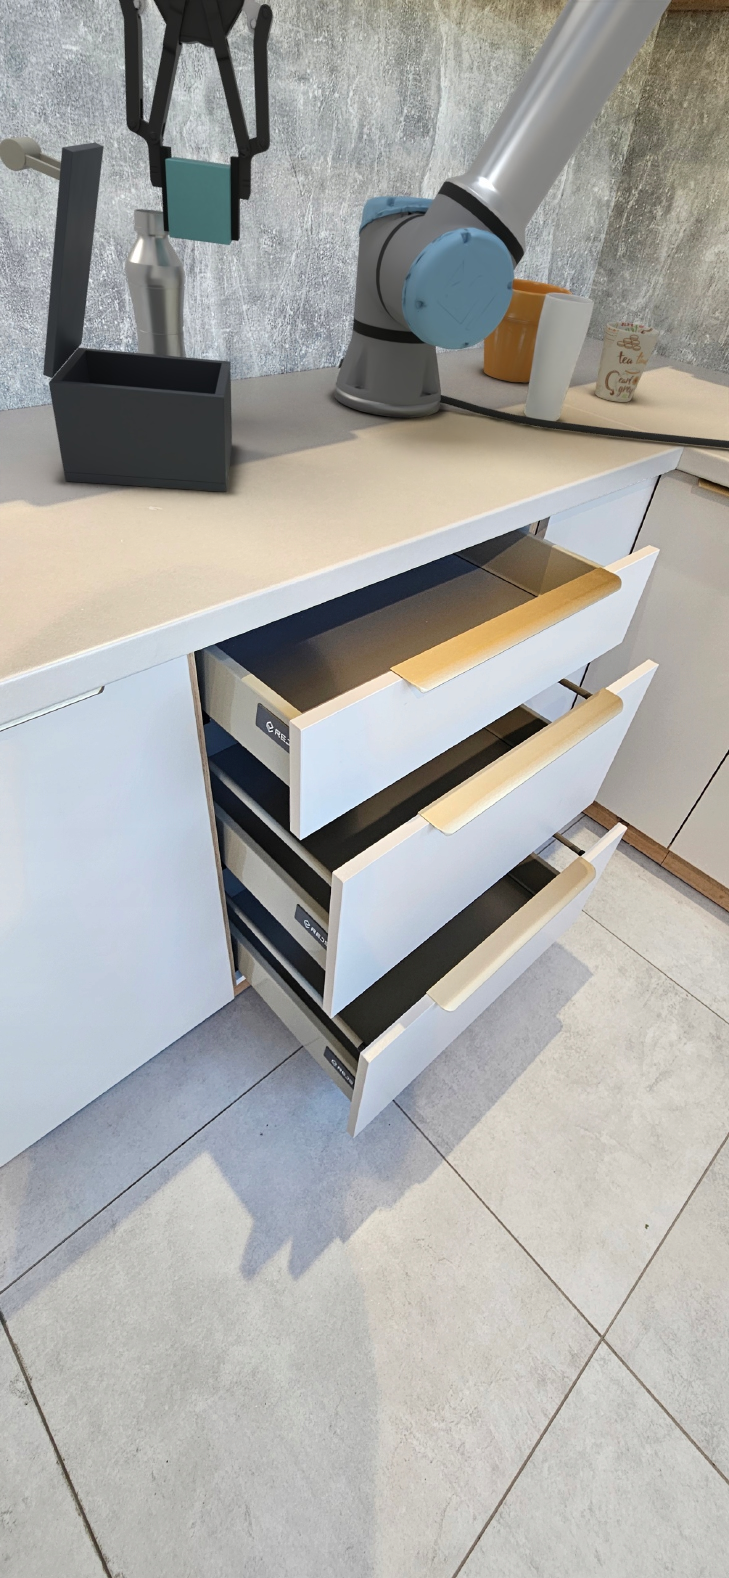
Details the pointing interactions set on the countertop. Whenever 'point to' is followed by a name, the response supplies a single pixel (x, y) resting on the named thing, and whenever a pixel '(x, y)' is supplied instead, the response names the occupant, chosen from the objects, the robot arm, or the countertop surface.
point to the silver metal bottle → (156, 287)
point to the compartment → (144, 419)
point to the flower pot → (517, 332)
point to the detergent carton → (199, 200)
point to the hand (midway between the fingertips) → (202, 234)
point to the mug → (623, 359)
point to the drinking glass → (556, 353)
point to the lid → (65, 237)
